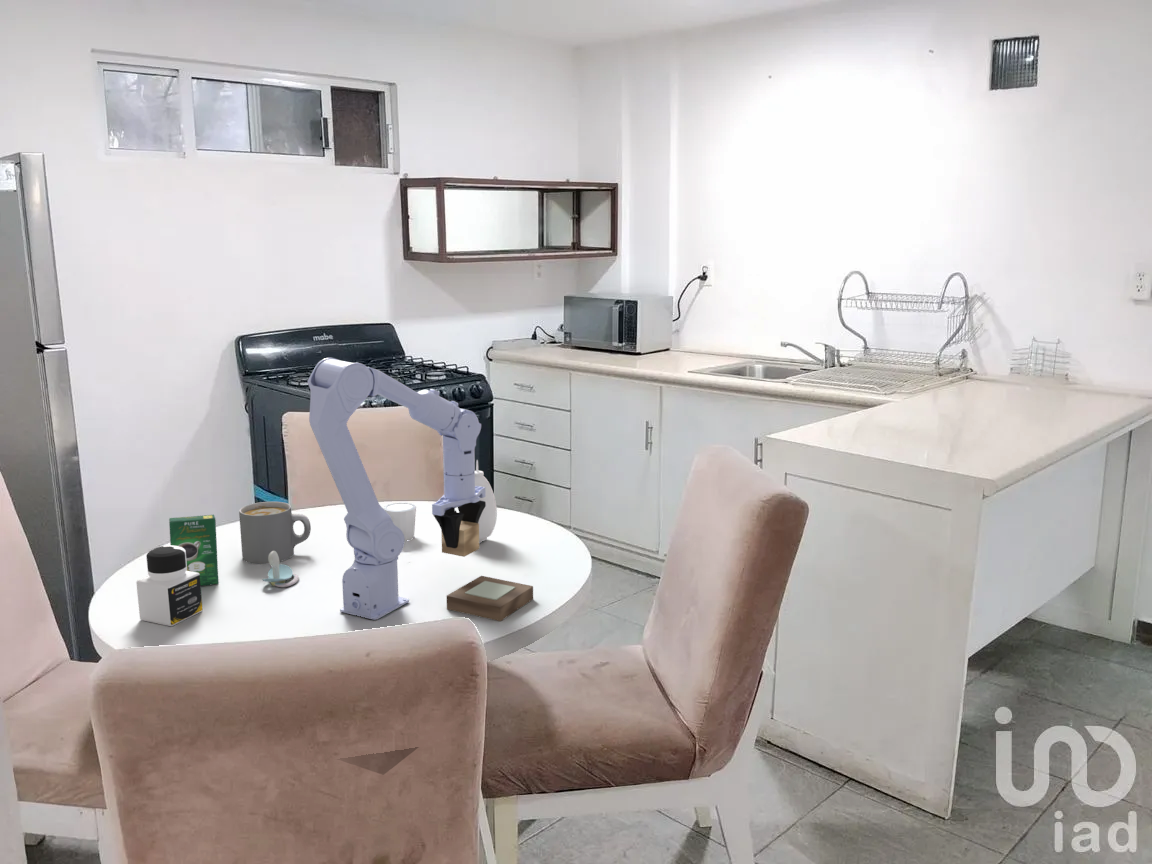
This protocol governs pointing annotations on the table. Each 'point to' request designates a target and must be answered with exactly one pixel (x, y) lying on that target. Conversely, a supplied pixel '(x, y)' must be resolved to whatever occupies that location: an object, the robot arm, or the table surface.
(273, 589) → the table surface
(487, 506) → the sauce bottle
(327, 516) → the table surface
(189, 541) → the coffee box
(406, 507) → the white cup
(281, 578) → the pacifier
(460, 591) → the walnut base
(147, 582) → the medicine bottle
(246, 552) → the coffee mug
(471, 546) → the oak cube
